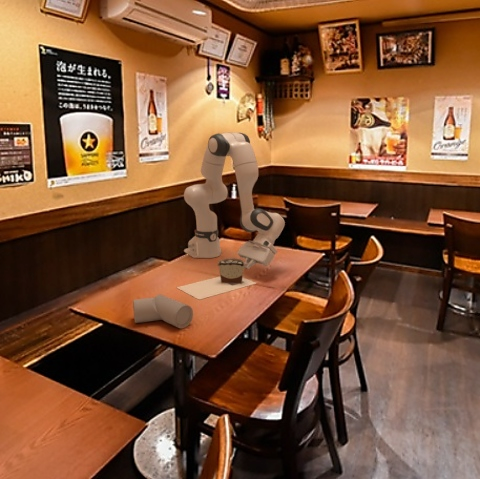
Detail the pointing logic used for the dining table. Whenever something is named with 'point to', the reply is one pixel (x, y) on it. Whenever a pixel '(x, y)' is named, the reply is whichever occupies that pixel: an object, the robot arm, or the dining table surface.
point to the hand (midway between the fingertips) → (245, 267)
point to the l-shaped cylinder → (162, 311)
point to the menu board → (212, 287)
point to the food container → (231, 270)
